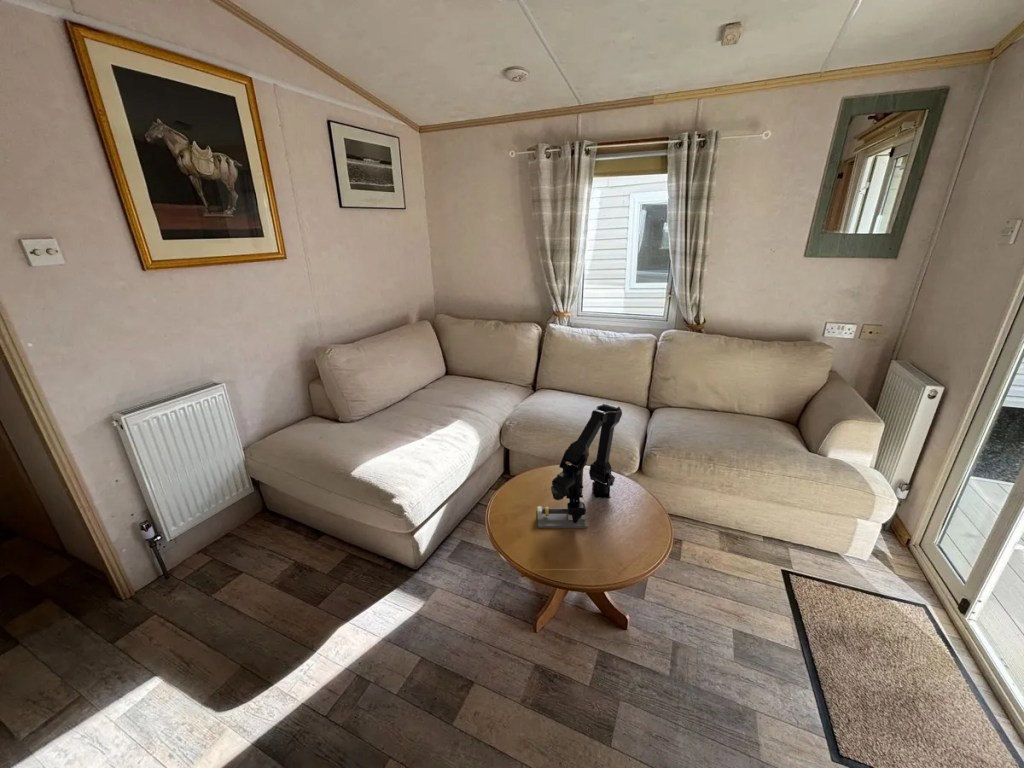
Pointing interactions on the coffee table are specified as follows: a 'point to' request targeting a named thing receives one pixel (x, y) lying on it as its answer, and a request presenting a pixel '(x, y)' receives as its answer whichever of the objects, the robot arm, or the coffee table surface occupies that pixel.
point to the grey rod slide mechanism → (558, 518)
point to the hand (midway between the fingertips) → (573, 514)
